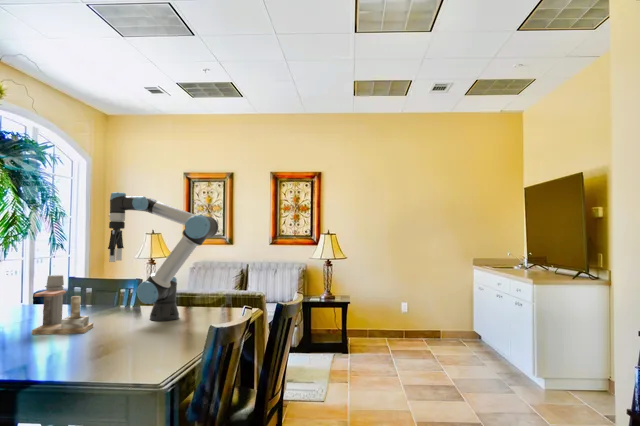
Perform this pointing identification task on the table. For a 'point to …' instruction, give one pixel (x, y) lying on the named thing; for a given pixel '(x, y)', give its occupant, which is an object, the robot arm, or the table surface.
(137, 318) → the table surface
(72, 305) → the peg
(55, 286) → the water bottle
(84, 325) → the socket station
